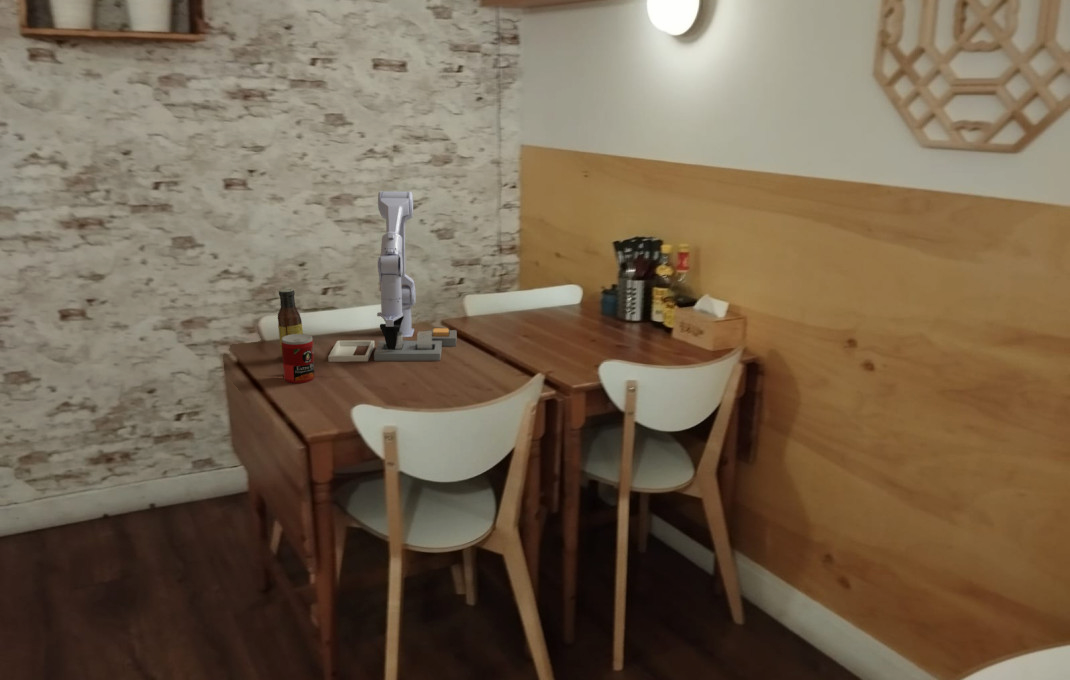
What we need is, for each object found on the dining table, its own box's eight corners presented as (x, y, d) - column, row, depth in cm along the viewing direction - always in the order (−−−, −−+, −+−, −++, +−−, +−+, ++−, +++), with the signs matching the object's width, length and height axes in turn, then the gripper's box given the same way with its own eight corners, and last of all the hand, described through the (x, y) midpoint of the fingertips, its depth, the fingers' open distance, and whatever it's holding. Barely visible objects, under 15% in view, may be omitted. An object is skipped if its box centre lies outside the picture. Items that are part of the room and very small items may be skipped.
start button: (433, 338, 250) (433, 328, 249) (448, 338, 250) (448, 328, 249) (433, 342, 245) (433, 332, 245) (448, 342, 246) (448, 332, 245)
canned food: (297, 385, 210) (294, 343, 207) (277, 379, 214) (274, 338, 211) (321, 378, 215) (319, 337, 212) (301, 372, 220) (299, 332, 217)
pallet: (379, 349, 241) (379, 340, 241) (442, 349, 243) (441, 340, 242) (374, 362, 229) (373, 353, 228) (440, 362, 230) (439, 353, 230)
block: (418, 351, 238) (418, 331, 236) (432, 351, 238) (432, 331, 236) (417, 355, 234) (417, 335, 232) (431, 355, 234) (431, 335, 233)
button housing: (426, 339, 252) (426, 330, 251) (456, 339, 253) (456, 330, 252) (424, 348, 243) (424, 338, 242) (455, 348, 244) (455, 338, 243)
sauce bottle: (308, 357, 233) (304, 287, 227) (300, 364, 227) (295, 292, 221) (285, 356, 233) (281, 287, 228) (276, 363, 227) (271, 291, 222)
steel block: (388, 351, 237) (388, 331, 235) (403, 351, 237) (402, 331, 236) (387, 356, 233) (386, 335, 232) (401, 356, 233) (401, 335, 232)
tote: (337, 347, 243) (337, 340, 242) (374, 347, 244) (374, 340, 243) (328, 363, 228) (328, 356, 227) (367, 363, 229) (367, 356, 228)
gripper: (379, 292, 238) (381, 337, 241) (373, 303, 224) (375, 352, 227) (404, 292, 238) (405, 337, 242) (400, 304, 224) (401, 352, 228)
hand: (392, 344), depth 235 cm, fingers open, 7 cm apart
